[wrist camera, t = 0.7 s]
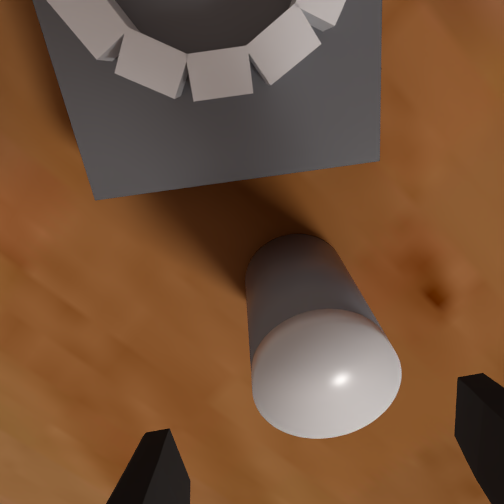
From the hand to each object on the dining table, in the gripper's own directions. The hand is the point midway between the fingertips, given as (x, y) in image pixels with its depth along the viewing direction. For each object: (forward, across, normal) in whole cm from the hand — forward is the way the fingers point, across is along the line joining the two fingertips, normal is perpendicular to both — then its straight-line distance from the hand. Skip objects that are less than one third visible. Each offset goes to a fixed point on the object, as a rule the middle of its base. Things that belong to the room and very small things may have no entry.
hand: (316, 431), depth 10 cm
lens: (+10, -1, +1) cm, 10 cm away
